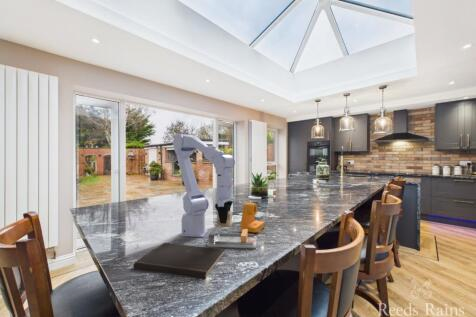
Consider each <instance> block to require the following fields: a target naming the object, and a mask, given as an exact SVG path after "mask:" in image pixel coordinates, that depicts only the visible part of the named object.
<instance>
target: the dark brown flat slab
mask: <svg viewBox="0 0 476 317" xmlns="http://www.w3.org/2000/svg"><path fill="white" fill-rule="evenodd" d="M224 251H225V249H224V248H219V247H207V246H206V247H205V246H196V245H189V244H180V243H179V244H178V243H168V242H164V243H163V244H161V245H159V246H158V247H156V248H155V249H153V250H151V251H150V252H148V253H147V254H145V255H144V256H142V257H141V258H139V259H138V260H135V261H134V264H133V269H135V270H140V271H141V270H142V271H147V272H153V273H154V272H155V273H161V274H169V275H176V276H183V277H188V278H195V279H203V280H206V278H207V276H208V275H209V274H210V272H211V271H212V270H213V268H214V267H215V266H216V265H217V263H218V262H219V260H220V259H221V258H222V256H223V255H224Z"/></svg>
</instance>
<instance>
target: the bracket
mask: <svg viewBox="0 0 476 317" xmlns="http://www.w3.org/2000/svg"><path fill="white" fill-rule="evenodd" d="M257 214H258V205H257V203H256V202H254V203H253V202H244V204H243V207H242V213H241V221H240V231H242V230H243V229H248V233H260V232H261V231H262V230H263V229H264V228H265V221H263V220H256V218H255V216H256V215H257Z"/></svg>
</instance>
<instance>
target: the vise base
mask: <svg viewBox="0 0 476 317" xmlns="http://www.w3.org/2000/svg"><path fill="white" fill-rule="evenodd" d="M241 234H242V232H241V233H237V232H236V233H235V232H220V233H219V227H213V228H212V229H211V231H210V232H209V234H208V242H207V243H206V247H208V248H231V249H232V248H234V249H235V248H237V249H239V248H240V249H256V248H257V240H258V236H257V235H255V234H254V233H248V238H247V242H241Z"/></svg>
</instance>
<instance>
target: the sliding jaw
mask: <svg viewBox="0 0 476 317" xmlns="http://www.w3.org/2000/svg"><path fill="white" fill-rule="evenodd" d="M241 233H242V234H241V242H247V238H248V234H249V232H248V229H243V230H241Z"/></svg>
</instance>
